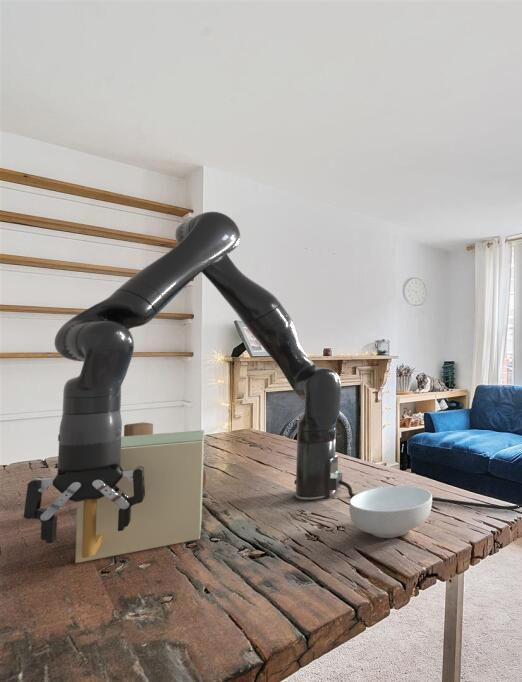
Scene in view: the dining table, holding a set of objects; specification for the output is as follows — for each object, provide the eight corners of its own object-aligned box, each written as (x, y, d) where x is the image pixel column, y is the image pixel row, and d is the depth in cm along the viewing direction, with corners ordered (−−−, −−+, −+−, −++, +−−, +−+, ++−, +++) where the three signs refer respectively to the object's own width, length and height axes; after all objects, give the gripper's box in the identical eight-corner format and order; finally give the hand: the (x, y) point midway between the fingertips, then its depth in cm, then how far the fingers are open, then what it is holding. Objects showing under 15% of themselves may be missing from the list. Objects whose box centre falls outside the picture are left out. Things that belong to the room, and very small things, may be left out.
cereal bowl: (445, 521, 96) (446, 489, 96) (403, 554, 80) (404, 516, 80) (381, 510, 101) (382, 480, 101) (330, 540, 85) (331, 504, 86)
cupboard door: (198, 550, 80) (201, 447, 80) (65, 578, 70) (69, 459, 70) (199, 537, 86) (202, 440, 86) (76, 561, 76) (80, 451, 76)
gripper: (149, 430, 79) (146, 519, 79) (37, 438, 71) (33, 537, 71) (143, 438, 73) (139, 533, 73) (20, 447, 65) (15, 555, 65)
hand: (87, 535), depth 72 cm, fingers open, 8 cm apart
